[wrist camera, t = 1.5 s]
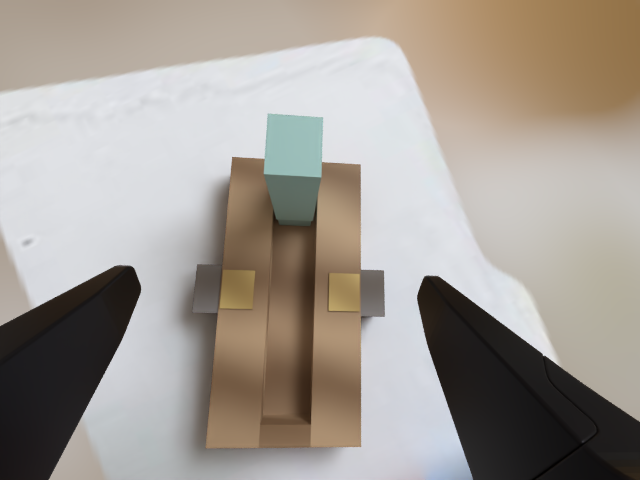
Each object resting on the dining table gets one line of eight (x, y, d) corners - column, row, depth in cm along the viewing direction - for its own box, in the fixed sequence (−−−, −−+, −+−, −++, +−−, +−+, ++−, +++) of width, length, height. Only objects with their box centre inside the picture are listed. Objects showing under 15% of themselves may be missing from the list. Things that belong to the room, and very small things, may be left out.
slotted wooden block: (376, 427, 20) (387, 447, 17) (192, 428, 19) (176, 449, 16) (373, 179, 23) (382, 165, 20) (218, 171, 22) (208, 154, 20)
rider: (311, 226, 21) (321, 177, 12) (278, 224, 20) (263, 174, 12) (312, 189, 21) (322, 117, 13) (280, 187, 21) (267, 113, 12)
